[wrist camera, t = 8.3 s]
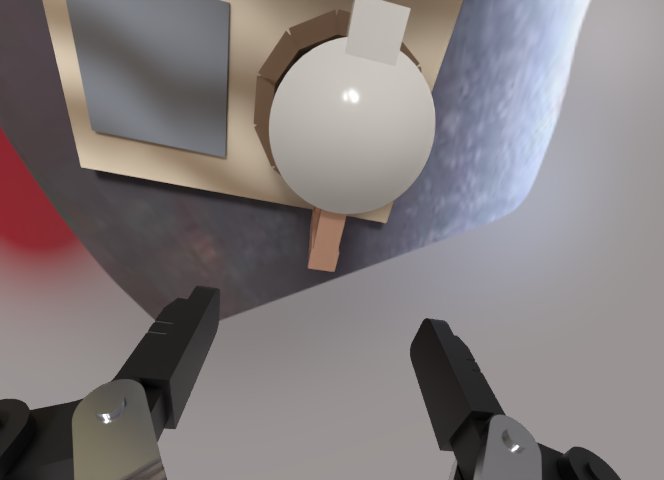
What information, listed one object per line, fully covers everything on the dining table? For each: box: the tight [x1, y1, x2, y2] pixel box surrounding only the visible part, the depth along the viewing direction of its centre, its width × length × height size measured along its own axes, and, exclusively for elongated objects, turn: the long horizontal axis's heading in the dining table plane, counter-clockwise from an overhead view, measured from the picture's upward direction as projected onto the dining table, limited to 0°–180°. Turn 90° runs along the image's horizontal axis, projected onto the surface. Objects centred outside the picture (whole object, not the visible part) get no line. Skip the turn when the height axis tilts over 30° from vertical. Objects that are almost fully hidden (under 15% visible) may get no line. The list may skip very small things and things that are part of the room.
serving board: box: [43, 0, 463, 223], centre depth 17 cm, size 17×24×5 cm
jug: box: [269, 0, 435, 272], centre depth 16 cm, size 11×6×10 cm, turn 168°
